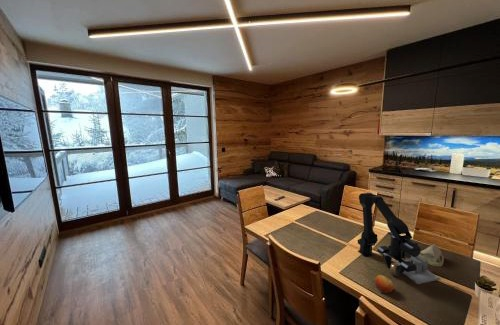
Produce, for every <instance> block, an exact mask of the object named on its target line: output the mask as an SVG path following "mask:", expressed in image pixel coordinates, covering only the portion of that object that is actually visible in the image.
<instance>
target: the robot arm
mask: <svg viewBox="0 0 500 325" xmlns="http://www.w3.org/2000/svg"><path fill="white" fill-rule="evenodd" d="M358 200H359V204H360V205H361V207H362V217H363V230H362V232H361V236H360V238H359V239H357V244H358V245H359V250H357V252H358V253H360V254H361V255H362V256H363V257H366V258H368V257H373V256H374V254H373V246H375V245H377V243H378V234H377V233H375V232H374V222H373V206H374V205H375V206H376V207H377V208H378V209H377V210H379V212H380V213H381V215H382V217H383V218H384V219H385V220H386V224H387V228H388V229H389V232H387V234H388V235H389V236H390V245H387V246H386V245H382V246H381V245H380V246H378V247H377V249H376V250H377V252H378V253H379V254H380V256H381V257H382V258H383V261H384V263H385V265H386V267H387V268H388V269H391V263H392V259H393V260H395V262H400V263H401V264H400V265H399V266H397V270H398V276H397V277H402V275H404V274H403V272H404V271H406V272H411V271H416V270H417V266H416V265H415V264H413V263H412V262H410V261H405V260H406V259H409V258H411V256H412V257H414V258H415V257H417V256H419V255H420V252H421V251H422V249H421V246H419V243H418V242H416V241H413V240H412V239H413V236H412V233H411V232H410V230H409V227H408V225H407V224H406V223H405V221H403V220H402V219H401V218H399V217H397V216H396V215H395V213H394V212H393V211H392V209H391V208H390V207H389V206H388V204H387V203H386V202H385V200H384V197H382V196H381V195H378V194H373V193H372V192H362V193H360V194H359V195H358ZM404 259H405V260H404Z"/></svg>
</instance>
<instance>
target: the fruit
mask: <svg viewBox="0 0 500 325" xmlns="http://www.w3.org/2000/svg"><path fill="white" fill-rule="evenodd" d="M374 282H375V284H374V285H375V288H377V289H378V292H379V294H381V293H384V294H389V293H391V292H392V291H393V290H394V289H395V285H394V282H393V281H392V280H391V279H390V278H389V277H387V276H385V275H382V274H378V275H377V276H376V277H375V280H374Z"/></svg>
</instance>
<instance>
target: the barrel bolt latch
mask: <svg viewBox="0 0 500 325" xmlns="http://www.w3.org/2000/svg"><path fill="white" fill-rule="evenodd" d="M404 261H410V262H412V263H416V266H417V270H416V271H411V272H406V271H404V272H403V274H402V275H405V276H406V277H408V278H409V279H410V280H411V281H412V282H414V283H416V284H417V285H421V284H425V283H430V282H434V281H440V280H441V279H440V277H439V276H438V275H436V274H434V273H433V272H431V271H430V270H428V265H429V264H428V261H427V260H425V259H423V258H422V257H420V256H419V255H418V256H417V257H413V256H411V258H408V259H405V260H404ZM421 261H422V262H421ZM394 263H396V264H398V265H400V264H401V263H400V262H398V261H395V262H394Z"/></svg>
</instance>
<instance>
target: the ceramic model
mask: <svg viewBox="0 0 500 325" xmlns="http://www.w3.org/2000/svg"><path fill="white" fill-rule="evenodd" d="M418 256H420V257H422V258H423V259H425V260H427V261H428V264H427V265H430V266H433V267H442V266H443V265H444V261H445V260H444V255H443V254H442V250H441V249H440V247H439V246H438V245H436V244H434V243H433V244H431V245H429V246H428V247H426V248H425V249H423V250H421V252H420V254H419V255H418ZM421 262H422V261H421Z"/></svg>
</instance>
